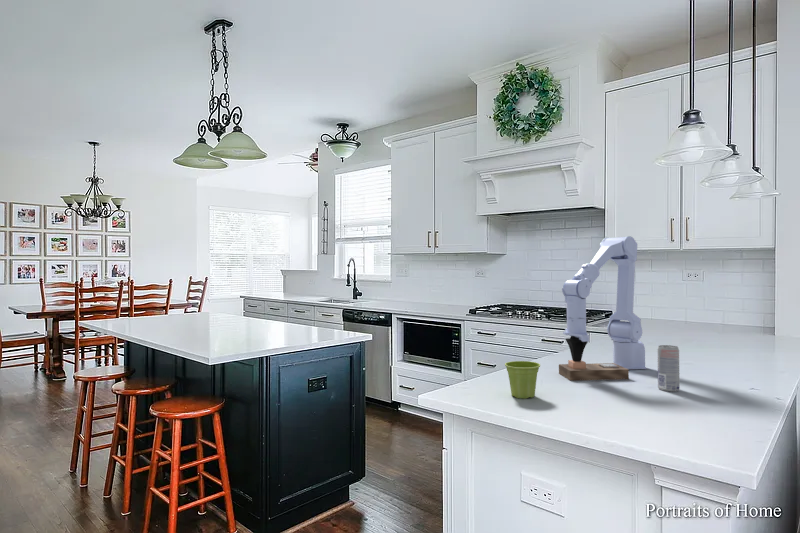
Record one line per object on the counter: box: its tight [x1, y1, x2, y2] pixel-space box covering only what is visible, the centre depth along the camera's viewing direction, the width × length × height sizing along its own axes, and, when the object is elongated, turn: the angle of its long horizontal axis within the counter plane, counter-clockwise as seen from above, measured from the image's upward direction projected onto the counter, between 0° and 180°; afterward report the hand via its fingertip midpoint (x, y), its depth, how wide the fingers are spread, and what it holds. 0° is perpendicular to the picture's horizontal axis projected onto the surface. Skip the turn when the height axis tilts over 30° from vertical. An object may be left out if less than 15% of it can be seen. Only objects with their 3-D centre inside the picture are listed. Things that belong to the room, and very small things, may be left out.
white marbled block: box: [599, 364, 618, 368], centre depth 162 cm, size 4×4×3 cm
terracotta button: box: [567, 359, 587, 369], centre depth 162 cm, size 4×4×3 cm
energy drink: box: [657, 344, 681, 393], centre depth 145 cm, size 5×5×12 cm
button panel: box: [558, 362, 630, 382], centre depth 162 cm, size 18×10×3 cm, turn 92°
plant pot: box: [504, 360, 541, 399], centre depth 140 cm, size 9×9×9 cm
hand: (576, 361), depth 162 cm, fingers closed, pressing on terracotta button
